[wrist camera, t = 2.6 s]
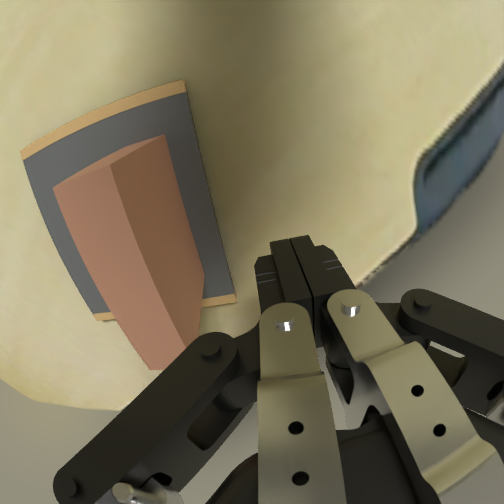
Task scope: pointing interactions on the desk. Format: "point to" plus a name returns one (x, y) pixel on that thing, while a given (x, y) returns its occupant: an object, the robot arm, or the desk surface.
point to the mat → (109, 141)
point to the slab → (138, 247)
